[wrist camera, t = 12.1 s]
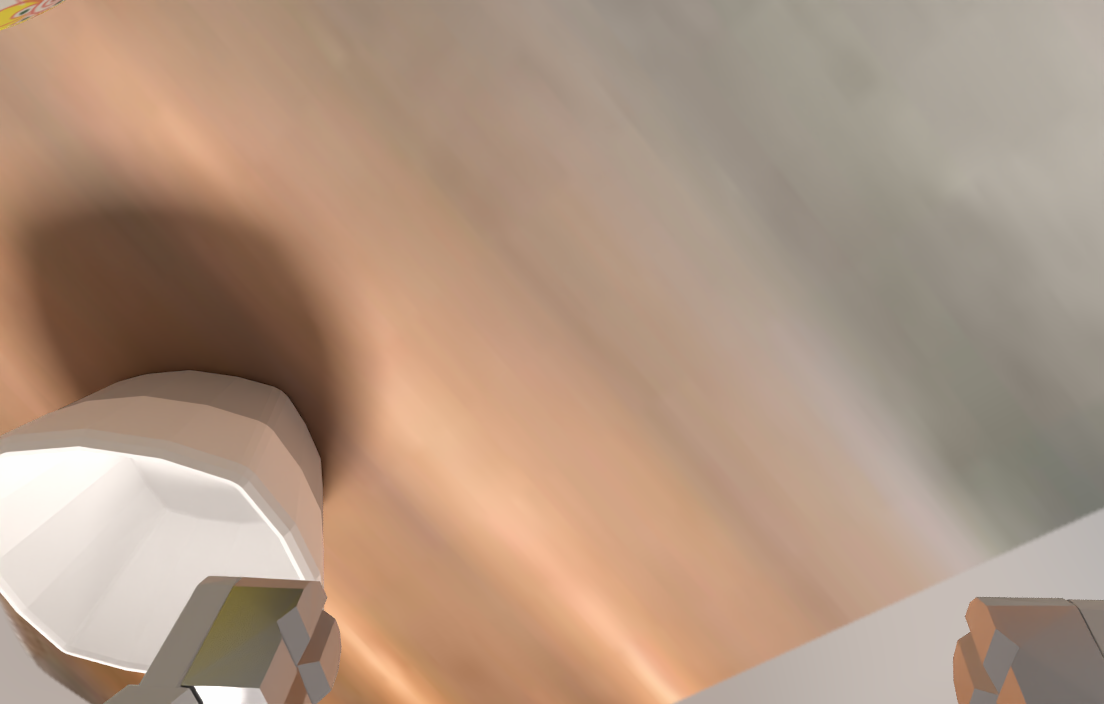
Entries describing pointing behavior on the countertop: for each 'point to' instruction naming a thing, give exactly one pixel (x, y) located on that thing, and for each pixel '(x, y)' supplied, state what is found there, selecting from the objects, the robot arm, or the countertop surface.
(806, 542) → the countertop surface
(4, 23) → the flowerpot
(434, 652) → the countertop surface
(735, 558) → the countertop surface
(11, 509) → the bowl
